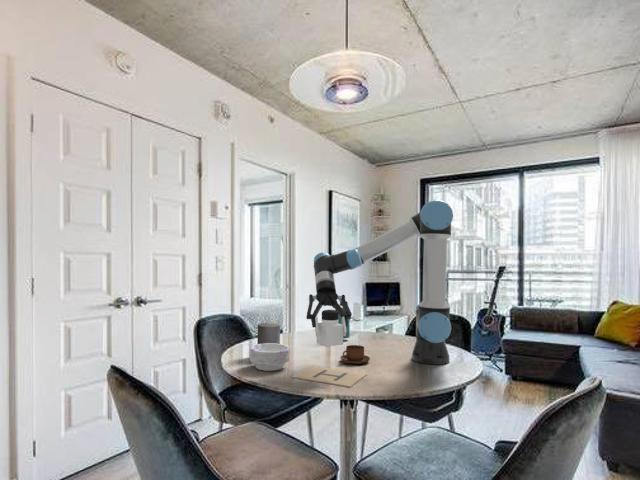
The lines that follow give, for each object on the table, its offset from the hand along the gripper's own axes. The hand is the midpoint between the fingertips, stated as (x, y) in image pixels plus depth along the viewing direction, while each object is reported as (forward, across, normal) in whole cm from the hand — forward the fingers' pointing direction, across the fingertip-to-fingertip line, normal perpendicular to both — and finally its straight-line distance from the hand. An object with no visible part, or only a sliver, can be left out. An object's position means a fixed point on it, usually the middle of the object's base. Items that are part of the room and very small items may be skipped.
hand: (331, 334), depth 138 cm
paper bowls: (0, +21, -23) cm, 31 cm away
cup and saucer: (-4, -14, -27) cm, 30 cm away
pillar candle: (-12, +21, -35) cm, 43 cm away
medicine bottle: (+1, 0, -5) cm, 5 cm away
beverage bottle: (-35, -17, -57) cm, 69 cm away
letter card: (+9, 0, -13) cm, 16 cm away
